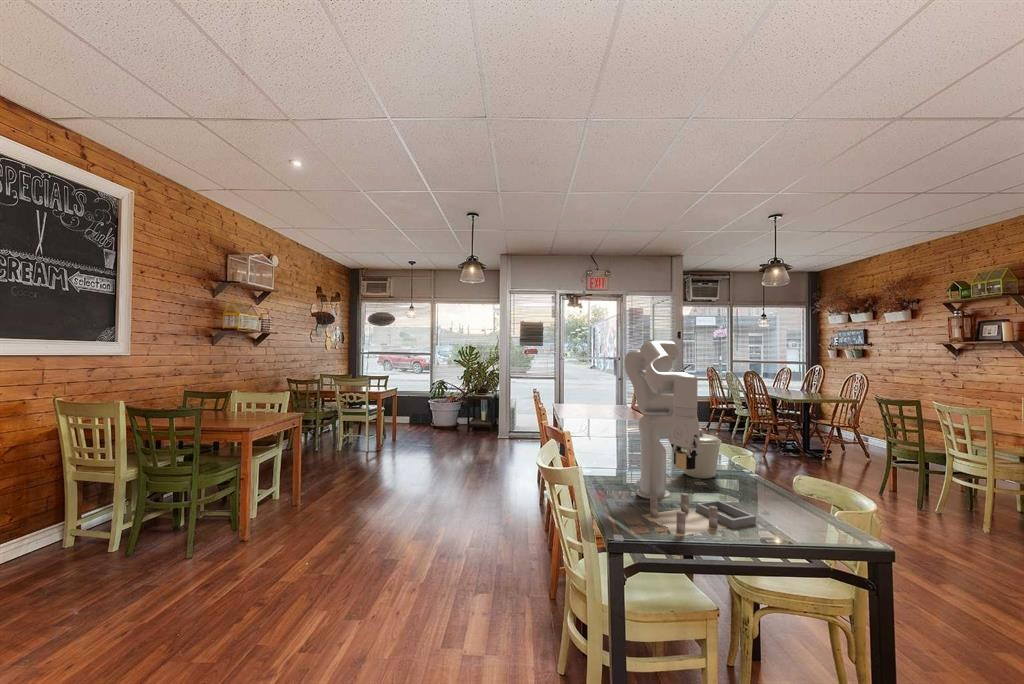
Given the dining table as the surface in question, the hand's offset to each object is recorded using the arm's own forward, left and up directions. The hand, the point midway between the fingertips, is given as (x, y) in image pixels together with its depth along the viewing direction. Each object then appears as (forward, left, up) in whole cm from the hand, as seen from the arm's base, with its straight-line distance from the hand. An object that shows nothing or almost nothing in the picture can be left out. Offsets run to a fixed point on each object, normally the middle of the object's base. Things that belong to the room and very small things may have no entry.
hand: (684, 466), depth 153 cm
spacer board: (0, 0, -19) cm, 19 cm away
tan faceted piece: (0, 0, 0) cm, 0 cm away
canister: (-41, +45, -20) cm, 64 cm away
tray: (+2, +16, -19) cm, 25 cm away
